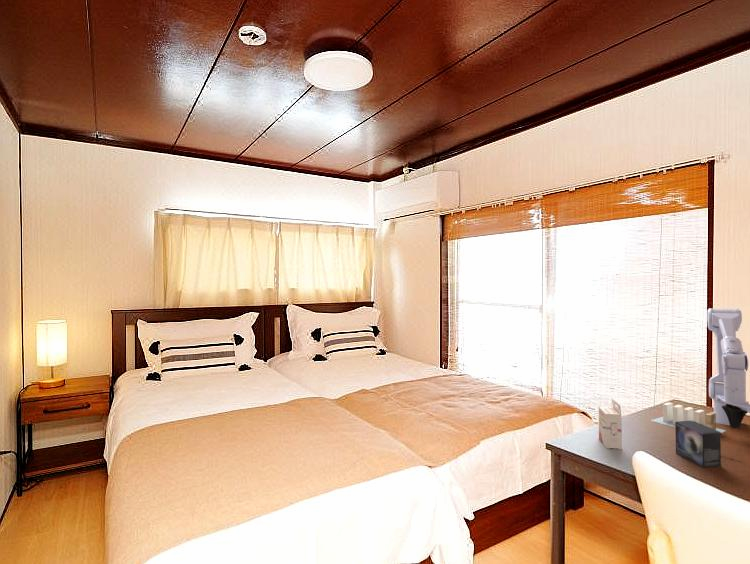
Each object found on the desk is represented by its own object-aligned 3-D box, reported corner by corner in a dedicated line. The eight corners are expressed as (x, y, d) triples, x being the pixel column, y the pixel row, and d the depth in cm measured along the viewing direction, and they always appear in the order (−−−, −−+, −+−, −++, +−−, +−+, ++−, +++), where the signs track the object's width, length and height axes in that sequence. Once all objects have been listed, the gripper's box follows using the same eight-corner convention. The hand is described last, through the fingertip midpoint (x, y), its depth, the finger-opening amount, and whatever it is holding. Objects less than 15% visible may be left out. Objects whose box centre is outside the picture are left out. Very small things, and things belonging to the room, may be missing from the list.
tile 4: (678, 421, 161) (678, 404, 161) (683, 422, 160) (683, 405, 160) (672, 423, 159) (672, 406, 159) (677, 424, 158) (677, 407, 158)
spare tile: (711, 429, 152) (711, 412, 152) (716, 431, 151) (716, 413, 151) (705, 432, 150) (705, 414, 150) (710, 433, 149) (710, 415, 149)
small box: (673, 453, 135) (673, 420, 135) (692, 452, 136) (692, 419, 135) (702, 468, 124) (701, 432, 124) (722, 466, 125) (722, 431, 125)
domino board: (666, 417, 169) (666, 415, 169) (726, 432, 151) (726, 430, 151) (649, 422, 163) (649, 420, 163) (711, 439, 145) (711, 437, 145)
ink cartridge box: (597, 438, 148) (597, 397, 147) (613, 439, 147) (612, 397, 146) (606, 448, 139) (605, 404, 139) (622, 449, 138) (622, 405, 138)
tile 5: (668, 418, 164) (668, 402, 164) (672, 419, 163) (672, 403, 163) (662, 420, 162) (662, 404, 162) (667, 422, 161) (666, 405, 161)
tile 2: (700, 426, 155) (699, 409, 155) (704, 428, 154) (704, 410, 154) (694, 429, 153) (694, 411, 153) (698, 430, 152) (698, 412, 152)
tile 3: (689, 424, 158) (689, 407, 158) (693, 425, 157) (693, 408, 157) (683, 426, 156) (683, 409, 156) (687, 427, 155) (687, 410, 155)
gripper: (765, 394, 137) (765, 435, 137) (729, 382, 151) (730, 420, 151) (743, 394, 137) (743, 435, 137) (709, 383, 151) (709, 420, 152)
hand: (735, 427), depth 144 cm, fingers closed
